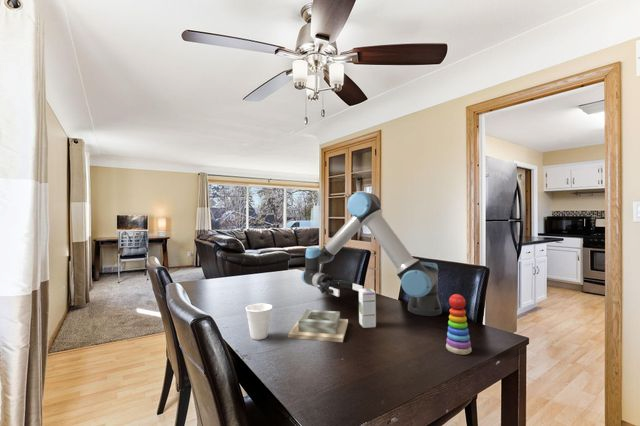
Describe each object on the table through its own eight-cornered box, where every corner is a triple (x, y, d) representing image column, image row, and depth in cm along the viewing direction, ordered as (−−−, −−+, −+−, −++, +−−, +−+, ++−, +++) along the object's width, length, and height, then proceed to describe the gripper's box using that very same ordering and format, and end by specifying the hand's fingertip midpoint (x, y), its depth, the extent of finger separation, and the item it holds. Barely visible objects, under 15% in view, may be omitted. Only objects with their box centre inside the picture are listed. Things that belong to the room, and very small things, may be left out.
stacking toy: (466, 345, 108) (466, 292, 108) (475, 356, 100) (475, 298, 100) (442, 344, 109) (443, 291, 109) (450, 355, 101) (450, 297, 101)
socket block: (347, 322, 131) (347, 309, 131) (342, 342, 111) (342, 326, 111) (301, 319, 134) (301, 307, 134) (288, 338, 115) (288, 323, 115)
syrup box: (376, 327, 126) (376, 291, 126) (362, 328, 125) (362, 291, 125) (371, 322, 131) (371, 288, 131) (358, 323, 130) (358, 288, 131)
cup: (277, 333, 119) (277, 304, 119) (264, 344, 109) (264, 312, 109) (254, 330, 122) (254, 302, 122) (239, 340, 112) (240, 309, 113)
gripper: (342, 286, 161) (371, 295, 143) (301, 292, 147) (327, 304, 129) (343, 271, 161) (371, 279, 143) (301, 276, 147) (328, 286, 129)
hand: (351, 291), depth 136 cm, fingers open, 13 cm apart
